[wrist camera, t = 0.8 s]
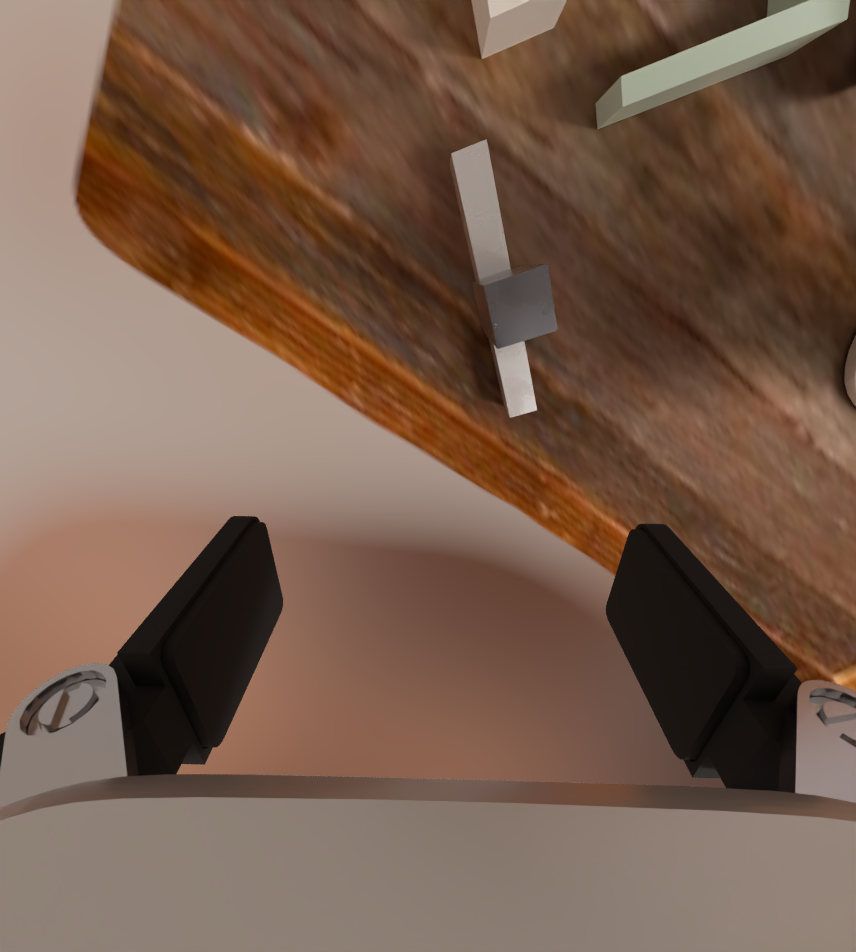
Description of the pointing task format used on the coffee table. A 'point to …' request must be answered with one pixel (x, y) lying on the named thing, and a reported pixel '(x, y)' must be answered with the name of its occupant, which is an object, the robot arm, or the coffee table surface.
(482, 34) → the cream block
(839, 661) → the coffee table surface
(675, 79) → the block corral
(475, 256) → the slider lever
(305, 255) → the coffee table surface
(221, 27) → the coffee table surface
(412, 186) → the coffee table surface
